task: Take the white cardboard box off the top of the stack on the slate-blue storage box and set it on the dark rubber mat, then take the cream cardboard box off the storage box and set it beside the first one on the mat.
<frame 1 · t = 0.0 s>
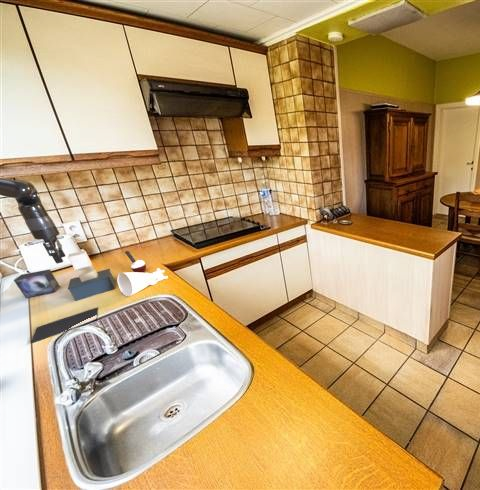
hand: (61, 259, 122), 18 cm above the worktop, tool pointing down, fingers open, 8 cm apart
storage box: (96, 289, 132), on the worktop
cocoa: (140, 271, 148), on the worktop
white box: (83, 266, 126), point 13 cm above the worktop, touching cream box
rocket engine: (149, 287, 132), on the worktop
cream box: (89, 277, 129), point 7 cm above the worktop, touching storage box, white box
small box: (43, 292, 132), on the worktop
rubber mat: (67, 324, 107), on the worktop
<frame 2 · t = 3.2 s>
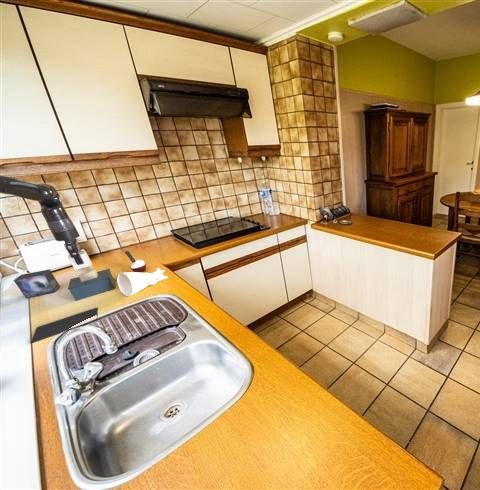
hand: (81, 262, 125), 16 cm above the worktop, tool pointing down, fingers closed on white box, 5 cm apart
white box: (83, 266, 126), point 14 cm above the worktop, touching cream box, gripper
everything else where it was.
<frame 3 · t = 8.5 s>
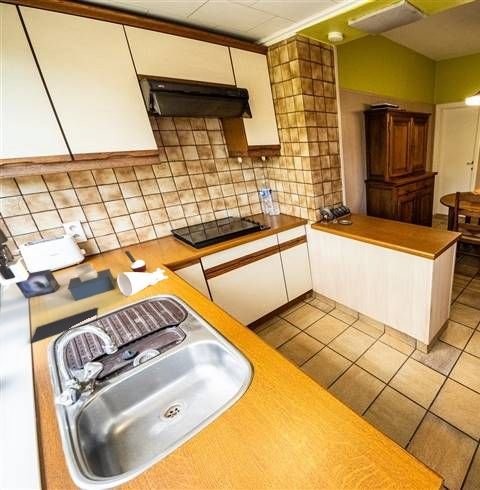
hand: (12, 275, 95), 25 cm above the worktop, tool pointing down, fingers closed on white box, 5 cm apart
white box: (16, 280, 96), point 23 cm above the worktop, touching gripper
cream box: (89, 277, 129), point 7 cm above the worktop, touching storage box
everything else where it was.
when the fingers open (3 cm above the worktop, at t = 13.7 s): white box stays where it is, resting on rubber mat.
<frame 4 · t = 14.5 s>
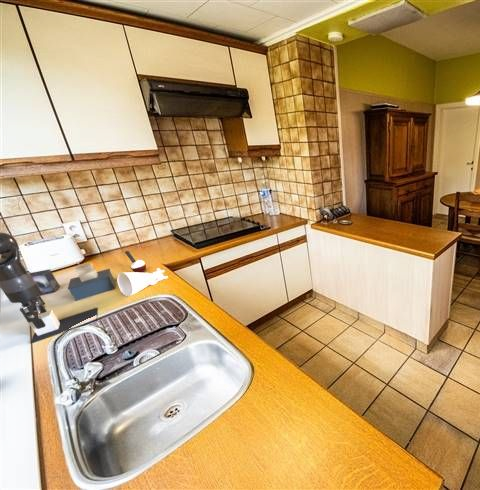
hand: (43, 322, 103), 4 cm above the worktop, tool pointing down, fingers open, 8 cm apart
white box: (49, 329, 104), resting on rubber mat
everything else where it was.
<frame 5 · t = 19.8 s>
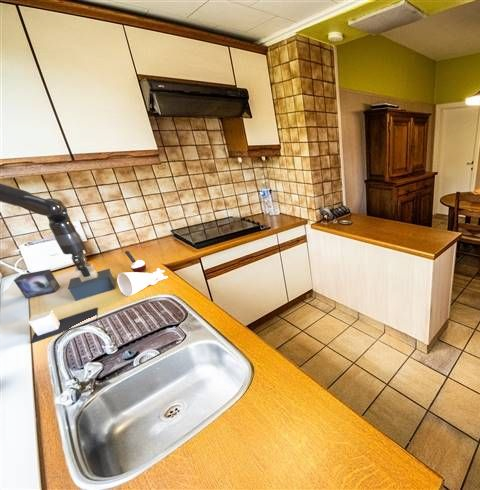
hand: (87, 274, 128), 9 cm above the worktop, tool pointing down, fingers closed on cream box, 5 cm apart
cream box: (89, 277, 129), point 7 cm above the worktop, touching gripper, storage box
everything else where it was.
when the fingers open (3 cm above the worktop, at t = 30.1 s): cream box stays where it is, resting on rubber mat.
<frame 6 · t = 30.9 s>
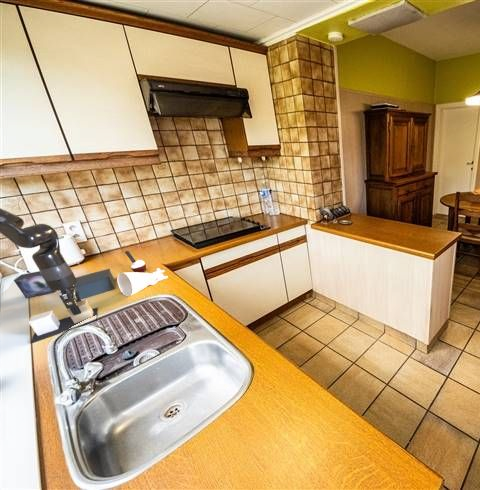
hand: (78, 309, 109), 5 cm above the worktop, tool pointing down, fingers open, 8 cm apart
cream box: (84, 317, 110), resting on rubber mat
everything else where it was.
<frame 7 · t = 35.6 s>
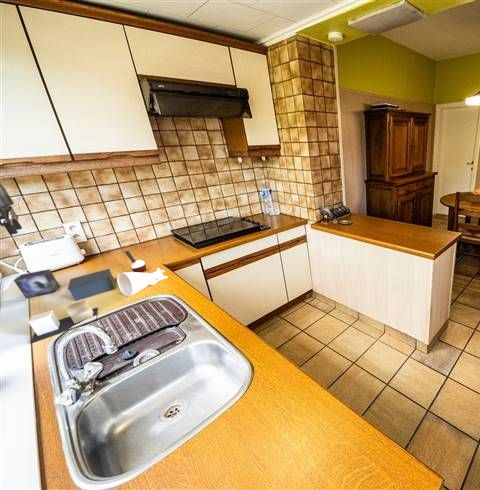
hand: (16, 231, 116), 33 cm above the worktop, tool pointing down, fingers open, 8 cm apart
nothing on the worktop moved.
at the end: white box inside the target area on the rubber mat (4.9 cm from its centre), point 0.4 cm above the rubber mat's base; cream box inside the target area on the rubber mat (5.1 cm from its centre), point 0.4 cm above the rubber mat's base; white box tilted 0° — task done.
